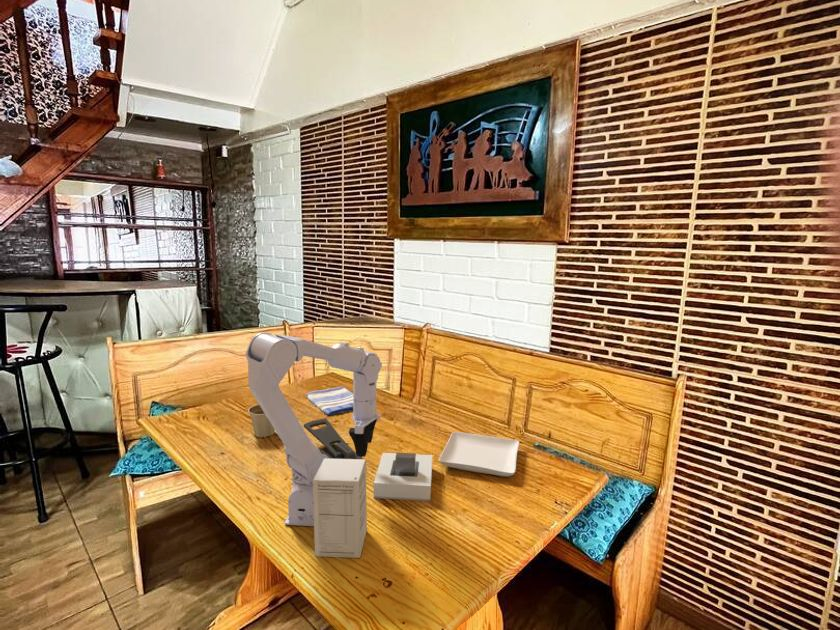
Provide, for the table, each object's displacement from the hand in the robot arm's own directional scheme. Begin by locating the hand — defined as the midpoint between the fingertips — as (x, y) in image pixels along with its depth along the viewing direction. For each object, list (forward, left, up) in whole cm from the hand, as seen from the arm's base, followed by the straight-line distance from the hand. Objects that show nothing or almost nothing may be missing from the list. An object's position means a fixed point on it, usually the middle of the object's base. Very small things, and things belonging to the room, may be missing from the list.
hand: (364, 448), depth 114 cm
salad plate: (+18, -31, -11) cm, 38 cm away
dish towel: (+59, +22, -11) cm, 64 cm away
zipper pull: (+16, +12, -11) cm, 23 cm away
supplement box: (-22, +1, -11) cm, 25 cm away
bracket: (+2, -11, -10) cm, 15 cm away
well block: (+3, -10, -10) cm, 15 cm away
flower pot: (+28, +38, -11) cm, 48 cm away
